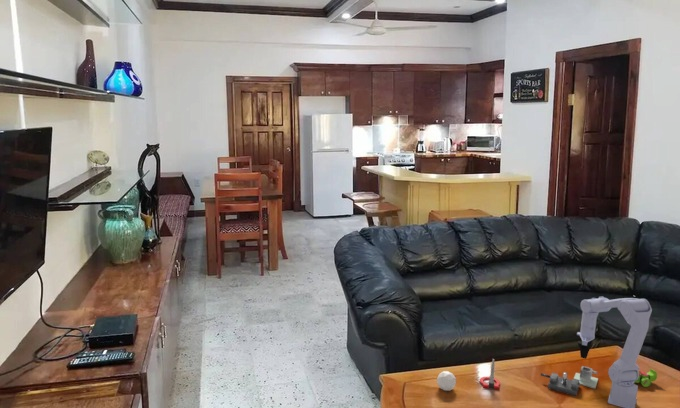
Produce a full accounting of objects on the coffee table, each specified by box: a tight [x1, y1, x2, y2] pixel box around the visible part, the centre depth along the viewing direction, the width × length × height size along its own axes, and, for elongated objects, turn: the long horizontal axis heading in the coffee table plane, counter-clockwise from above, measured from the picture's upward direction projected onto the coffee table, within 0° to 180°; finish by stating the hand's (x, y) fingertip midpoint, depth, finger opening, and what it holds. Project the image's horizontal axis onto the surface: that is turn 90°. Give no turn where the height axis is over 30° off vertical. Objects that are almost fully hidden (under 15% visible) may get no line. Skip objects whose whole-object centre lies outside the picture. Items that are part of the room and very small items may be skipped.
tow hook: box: [479, 358, 501, 390], centre depth 222 cm, size 8×13×9 cm
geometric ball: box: [436, 370, 457, 392], centre depth 217 cm, size 8×8×8 cm
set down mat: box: [573, 372, 599, 390], centre depth 227 cm, size 9×9×1 cm
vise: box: [540, 371, 581, 397], centre depth 222 cm, size 15×9×6 cm, turn 58°
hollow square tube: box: [579, 365, 598, 383], centre depth 226 cm, size 6×4×5 cm
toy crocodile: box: [634, 368, 658, 388], centre depth 227 cm, size 20×7×6 cm, turn 89°
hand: (584, 354), depth 231 cm, fingers open, 7 cm apart
